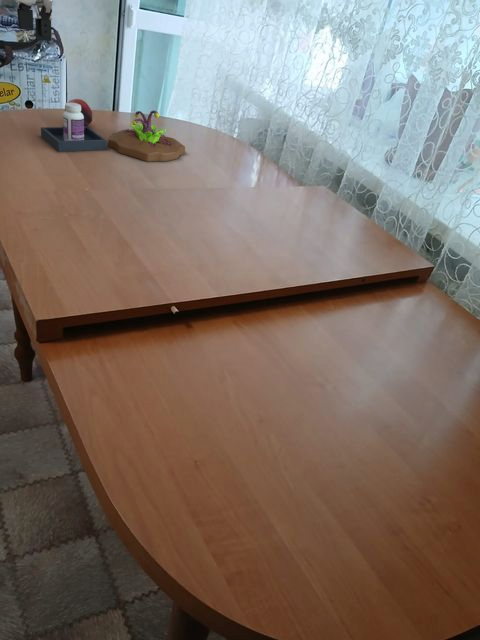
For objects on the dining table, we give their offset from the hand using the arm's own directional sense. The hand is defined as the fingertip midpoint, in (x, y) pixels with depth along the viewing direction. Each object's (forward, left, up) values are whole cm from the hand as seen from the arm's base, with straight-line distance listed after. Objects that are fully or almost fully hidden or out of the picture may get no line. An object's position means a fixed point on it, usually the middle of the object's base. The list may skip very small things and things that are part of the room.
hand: (34, 34), depth 120 cm
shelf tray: (+14, +12, -28) cm, 34 cm away
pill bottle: (+14, +12, -28) cm, 33 cm away
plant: (+33, +5, -28) cm, 44 cm away
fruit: (+21, +24, -28) cm, 43 cm away
